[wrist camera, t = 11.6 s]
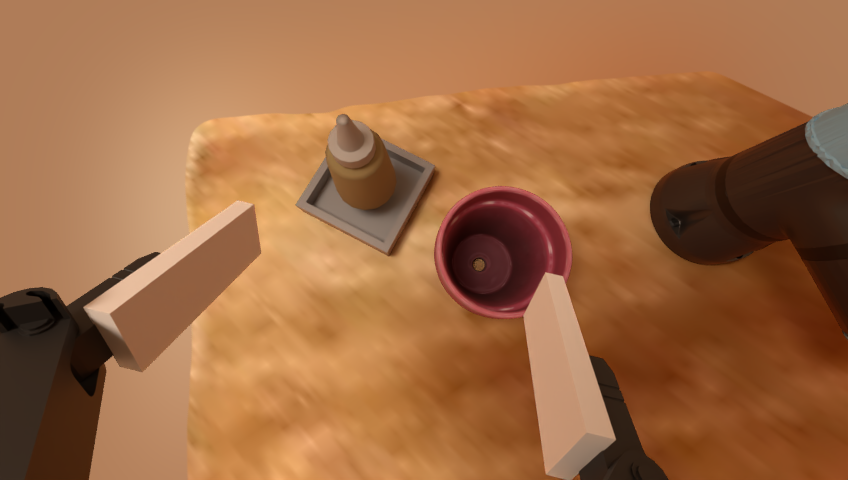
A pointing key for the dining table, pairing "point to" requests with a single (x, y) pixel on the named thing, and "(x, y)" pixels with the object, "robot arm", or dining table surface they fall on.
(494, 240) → the plant pot
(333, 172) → the squeeze bottle
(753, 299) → the dining table surface
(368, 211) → the tray
